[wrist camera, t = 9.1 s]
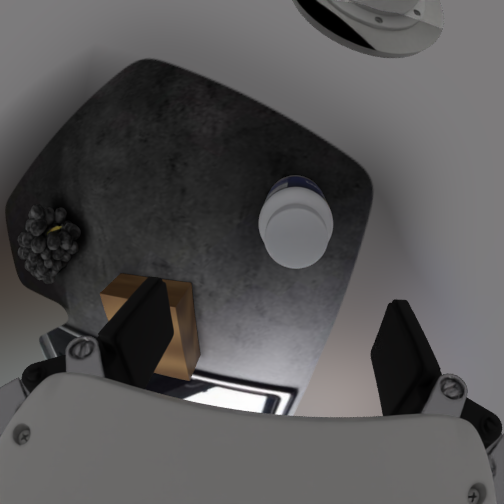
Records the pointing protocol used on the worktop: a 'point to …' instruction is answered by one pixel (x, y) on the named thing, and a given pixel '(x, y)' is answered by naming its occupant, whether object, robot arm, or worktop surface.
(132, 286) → the brown flat block
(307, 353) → the worktop surface
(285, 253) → the pill bottle
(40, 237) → the fruit
